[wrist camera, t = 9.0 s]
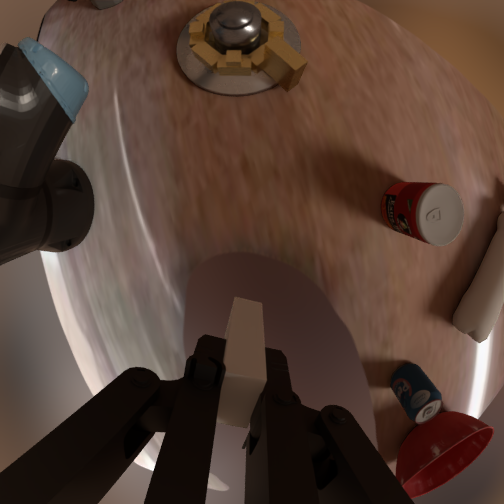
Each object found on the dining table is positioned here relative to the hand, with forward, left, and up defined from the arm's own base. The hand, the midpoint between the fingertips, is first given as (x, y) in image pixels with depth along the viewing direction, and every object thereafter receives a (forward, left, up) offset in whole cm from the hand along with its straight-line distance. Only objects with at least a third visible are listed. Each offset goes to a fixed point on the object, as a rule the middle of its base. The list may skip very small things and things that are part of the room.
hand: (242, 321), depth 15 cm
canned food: (+21, +11, -25) cm, 34 cm away
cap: (-9, +28, -24) cm, 38 cm away
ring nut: (-7, +27, -23) cm, 36 cm away
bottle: (+46, +9, -25) cm, 53 cm away
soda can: (+36, -18, -25) cm, 47 cm away
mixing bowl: (+58, -37, -25) cm, 73 cm away
